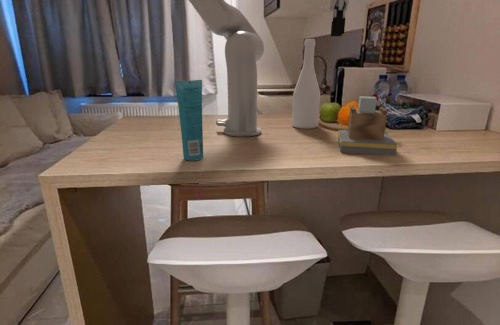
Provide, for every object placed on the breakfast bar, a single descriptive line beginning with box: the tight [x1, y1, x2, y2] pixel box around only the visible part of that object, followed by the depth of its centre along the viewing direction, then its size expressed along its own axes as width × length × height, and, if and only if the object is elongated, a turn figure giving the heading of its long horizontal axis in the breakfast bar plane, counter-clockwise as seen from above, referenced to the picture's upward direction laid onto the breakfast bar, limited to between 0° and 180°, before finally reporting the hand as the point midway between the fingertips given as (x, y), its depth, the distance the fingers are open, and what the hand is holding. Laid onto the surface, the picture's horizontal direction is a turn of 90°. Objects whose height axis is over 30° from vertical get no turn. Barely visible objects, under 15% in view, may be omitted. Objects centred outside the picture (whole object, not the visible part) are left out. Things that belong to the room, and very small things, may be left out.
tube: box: [174, 79, 204, 162], centre depth 79 cm, size 7×5×19 cm, turn 140°
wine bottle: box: [291, 38, 321, 130], centre depth 114 cm, size 10×10×30 cm
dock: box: [337, 129, 398, 156], centre depth 93 cm, size 14×14×3 cm
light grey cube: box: [357, 95, 377, 113], centre depth 90 cm, size 4×4×4 cm
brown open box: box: [347, 105, 388, 140], centre depth 91 cm, size 9×6×8 cm
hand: (336, 35), depth 92 cm, fingers open, 9 cm apart
